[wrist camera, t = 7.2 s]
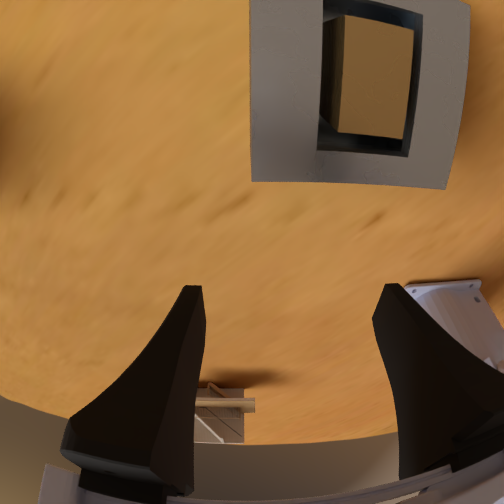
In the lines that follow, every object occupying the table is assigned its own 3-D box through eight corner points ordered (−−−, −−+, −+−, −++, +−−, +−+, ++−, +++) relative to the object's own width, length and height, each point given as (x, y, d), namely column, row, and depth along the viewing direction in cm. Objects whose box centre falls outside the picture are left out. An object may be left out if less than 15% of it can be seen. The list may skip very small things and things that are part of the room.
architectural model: (190, 370, 32) (184, 431, 26) (254, 371, 32) (255, 433, 26) (195, 385, 34) (190, 442, 28) (254, 385, 34) (255, 443, 28)
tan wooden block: (370, 32, 13) (413, 30, 9) (364, 114, 16) (402, 139, 12) (317, 24, 13) (345, 15, 9) (313, 109, 16) (338, 132, 12)
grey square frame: (420, 8, 12) (470, 5, 8) (405, 155, 18) (445, 190, 14) (249, -18, 12) (250, -44, 8) (250, 147, 18) (251, 181, 13)
